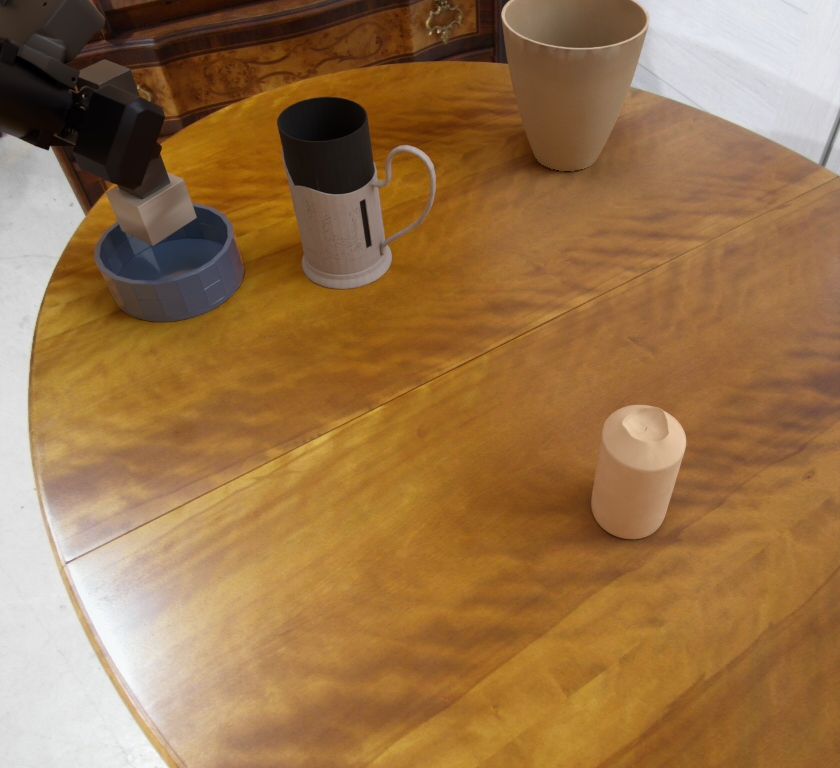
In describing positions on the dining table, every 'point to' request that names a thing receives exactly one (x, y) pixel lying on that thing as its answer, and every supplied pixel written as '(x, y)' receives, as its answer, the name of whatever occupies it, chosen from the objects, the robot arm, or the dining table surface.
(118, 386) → the dining table surface
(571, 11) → the plant pot
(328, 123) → the glass holder
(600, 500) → the candle
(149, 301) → the bowl
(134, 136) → the robot arm
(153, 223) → the dark post on base
